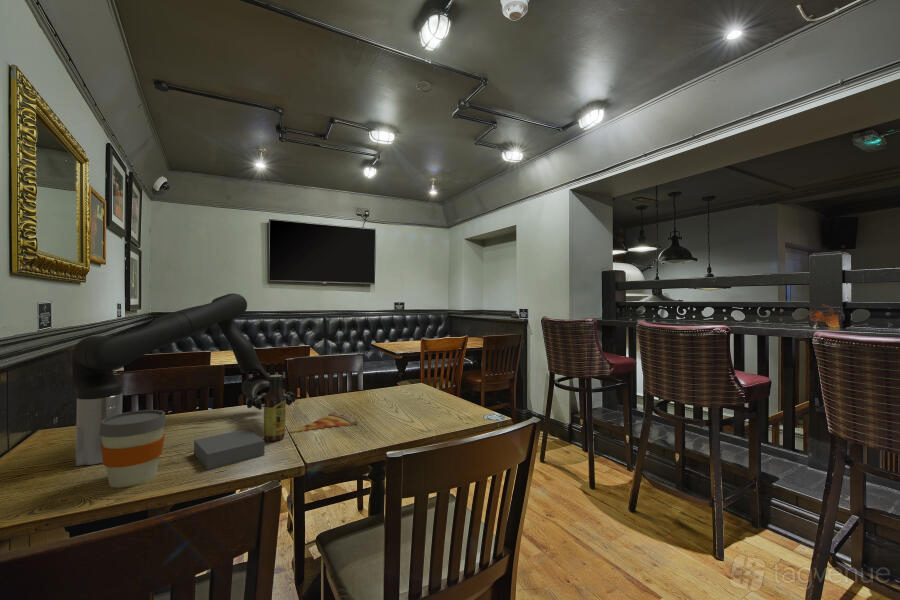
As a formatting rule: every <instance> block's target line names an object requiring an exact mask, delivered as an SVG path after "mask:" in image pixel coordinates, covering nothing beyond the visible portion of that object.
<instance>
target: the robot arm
mask: <svg viewBox="0 0 900 600" xmlns="http://www.w3.org/2000/svg"><path fill="white" fill-rule="evenodd" d="M247 309H248V301H247V299H246V298H245V297H244V296H243V295H241V294H238V293H228V294H224V295H221V296H218V297H216V298H214V299H213V300H211V302H209V303H205V304H201V305H197V306H196V305H195V306H192V307H187V308H184V309H179V310H177V311H173V312H170V313H167V314H164V315H162V316H159V317H158V318H155V319H154V320H153V321H151V322H150V323H149V324H147V325H145V327H143V328H140V329H138V330H136V331H135V330H134V331H132V332H128V333H124V334H121V335H116V336H101V335H92V336H87V337H85V338H82V339H81V340H79V341H78V342H77V344H76V345H74V348H73V351H72V355H71V371H72V374H71V375H72V377H71V378H72V385H73V387H74V390H75V392H76V424H75V457H74V458H75V466H76V467H80V466H91V465H97V464H102V463H103V458H102V452H101V445H102V444H103V442H102V436H101V435H99V433H100V426H101V421H102V420H103V419H105V418H107V417H110V416H113V415H117V414H121V413H123V383H122V382H121V381H119V380H118V378H117V377H116V376H115V374H114V370H117V369H120V368H122V367H124V366H126V365H128V364H129V363H132V362H133V361H135V360H137V359H139V358H141V357H142V356H145V355H147V354H149V353H152V352H154V351H156V350H159V349H162V348H166V347H168V346H170V345H172V344H175V343H177V342H180V341H183V340H186V339H188V338H191V337H192V336H194V335H197V334H198V333H201V332H202V331H205V330H206V329H209V328H210V327H212V326H214V325H216V324H217V327H219V329H220V332H221V333H222V335H223V336H224V338H225V339H226V341H227V343H228V344H229V347H230V348H231V351H232V353H233V355H234V358H235V360H236V362H237V365H238V368H239V370H240V372H241V373H243V374H247V373H254V372H255V373H257V374H256V375H255V376H252V377H249V378H247V379H245V380H244V381H243V382H242V383H241V386H240V387H241V392H242V393H243V395H244V396H245V397H246V399H245V400H246V401H245V404H246V407H247V409H252V408H255V409H258V410H262V408H264V406H265V397H266V395H267V393H268V392H269V376H270V375H269V374H268V373H267V371H266V369H264V367H263V365H262V364H261V361H260V360H259V357H258V354H257V352H256V349H255V346H253V344H252V343H251V341H249V340H248V338H247V337H246V336H245V335H244V334H243V333H242V331H241V330H240V329H239V328H238V326H237V324H236V321H235V319H237V318H240V317H241V316H242V315H244V314H245V313H246V311H247ZM283 393H284V392H283ZM284 396H285V399H286V406H291V405H292V404H293V403H295V402H296V394H295V393H294V392H292V391H290V390H287V391H286V393H284Z"/></svg>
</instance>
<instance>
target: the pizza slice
mask: <svg viewBox="0 0 900 600" xmlns="http://www.w3.org/2000/svg"><path fill="white" fill-rule="evenodd" d="M355 424H358V425H359V422H358V421H357V420H356V419H355V418H354V417H352V416H350V415H348V414H345V413H343V412H342V413H341V412H339V411H338V412H337V411H329V413H328V415H326V416H324V417H322V418H319V419H316V420H315V421H312V422H310V423H307V424H306V425H303V426H301V427H299V428H296V429H294V430H292V431H290V432H289V433H290V434H296V433H295V432H297V433H303V432H302V431H305V432H310V431H309V430H313V431H318V429H321V430H326V429H325V428H329V429H333V428H332V427H337V428H340V427H339V426H345V427H349V426H348V425H353V426H356V425H355Z"/></svg>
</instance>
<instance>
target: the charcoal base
mask: <svg viewBox="0 0 900 600" xmlns="http://www.w3.org/2000/svg"><path fill="white" fill-rule="evenodd" d="M193 455H194V456H195V457H196V459H197V460H198V461H199V462H200V463H201V465H203V467H204V466H205V467H204V468H205V469H206V470H207V471H208V470H209V471H210V470H213V469H216V468H220V467H224V466H228V465H231V464H235V463H239V462H242V461H246V460H250V459H254V458H258V457H262V456H265V440H264V438H261V436H259V435H257V434H256V433H255V432H253V431H252V430H250V429H249V428H245V429H240V430H235V431H231V432H230V431H229V432H225V433H221V434H217V435H212V436H206V437H202V438H198V439H194V441H193Z"/></svg>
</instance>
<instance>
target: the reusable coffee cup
mask: <svg viewBox="0 0 900 600" xmlns="http://www.w3.org/2000/svg"><path fill="white" fill-rule="evenodd" d="M166 425H167V420H166V412H165V411H163V410H159V409H143V410H133V411H127V412H122V413H121V414H117V415H113V416H110V417H107V418H105V419H103V420H102V421H101V426H100V433H99V435H101V436H102V442H103V444H102V445H101V452H102V458H103V466H105V468H106V472H107V479H108V486H109V487H112V488H128V487H132V486H133V487H134V486H137V485H140V484H143V483H146V482H148V481H150V480H152V479H154V478H155V477H156V476H157V473H158V468H159V466H158V465H159V460H160V456H161V455H162V453H163V448H164V441H165V435H166V434H164V430H165V426H166Z"/></svg>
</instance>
